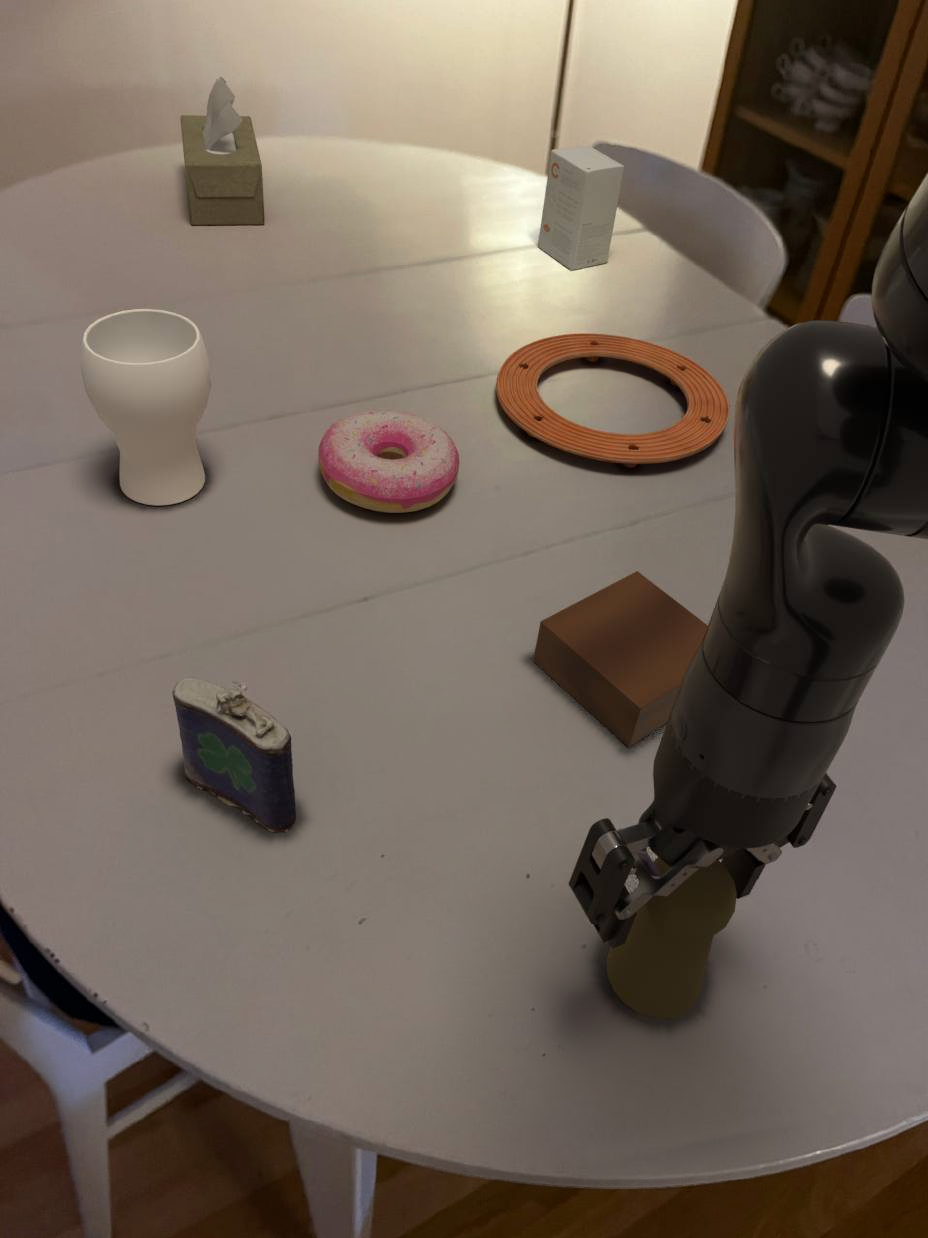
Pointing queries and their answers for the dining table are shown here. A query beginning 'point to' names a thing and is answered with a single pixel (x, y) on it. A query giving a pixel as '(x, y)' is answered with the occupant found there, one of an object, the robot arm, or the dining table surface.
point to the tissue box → (222, 164)
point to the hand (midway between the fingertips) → (671, 907)
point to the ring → (629, 449)
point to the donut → (388, 461)
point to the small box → (580, 206)
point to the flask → (236, 751)
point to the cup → (150, 399)
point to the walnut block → (622, 654)
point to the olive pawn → (672, 943)
